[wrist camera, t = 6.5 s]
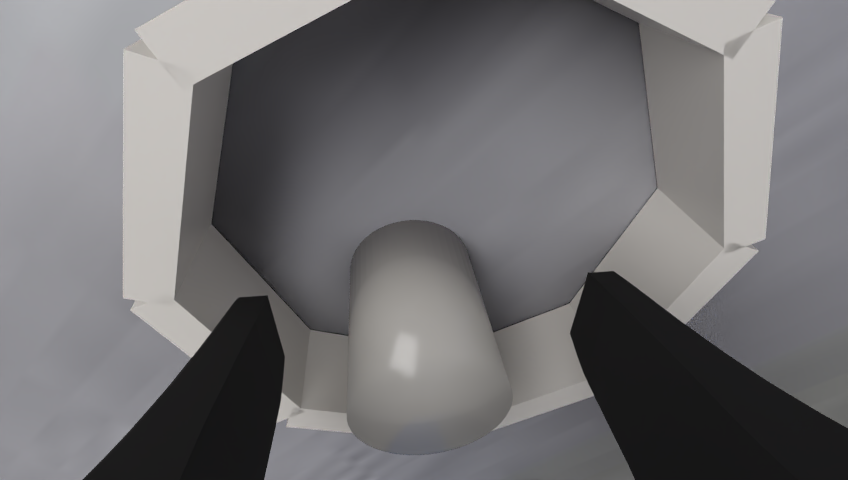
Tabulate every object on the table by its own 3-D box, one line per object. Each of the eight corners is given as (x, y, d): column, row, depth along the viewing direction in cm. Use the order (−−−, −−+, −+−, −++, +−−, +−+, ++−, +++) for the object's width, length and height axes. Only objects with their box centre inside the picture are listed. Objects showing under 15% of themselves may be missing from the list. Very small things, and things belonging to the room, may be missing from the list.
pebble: (466, 211, 13) (514, 343, 9) (471, 301, 15) (512, 440, 11) (337, 231, 13) (328, 375, 9) (363, 320, 15) (364, 465, 11)
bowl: (801, 49, 11) (923, 85, 9) (531, 383, 18) (557, 453, 16) (207, -273, 7) (124, -376, 4) (163, 327, 14) (122, 411, 12)
